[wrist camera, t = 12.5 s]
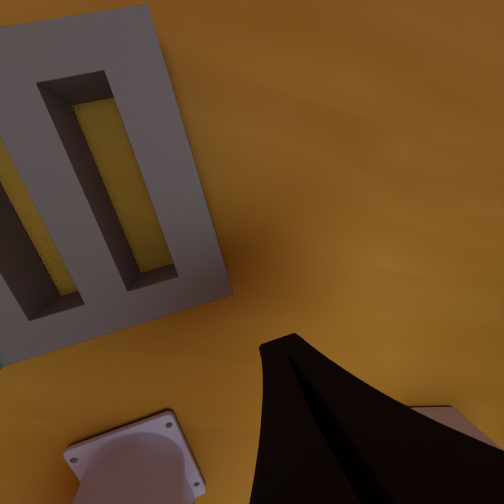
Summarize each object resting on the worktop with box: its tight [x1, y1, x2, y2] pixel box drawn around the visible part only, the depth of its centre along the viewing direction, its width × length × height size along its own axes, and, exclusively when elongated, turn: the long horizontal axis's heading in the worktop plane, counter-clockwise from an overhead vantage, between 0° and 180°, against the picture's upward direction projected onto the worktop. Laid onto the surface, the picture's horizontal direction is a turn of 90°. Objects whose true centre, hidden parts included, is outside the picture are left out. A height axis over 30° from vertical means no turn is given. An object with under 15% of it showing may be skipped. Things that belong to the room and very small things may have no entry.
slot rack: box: [0, 4, 233, 369], centre depth 13 cm, size 14×18×3 cm
